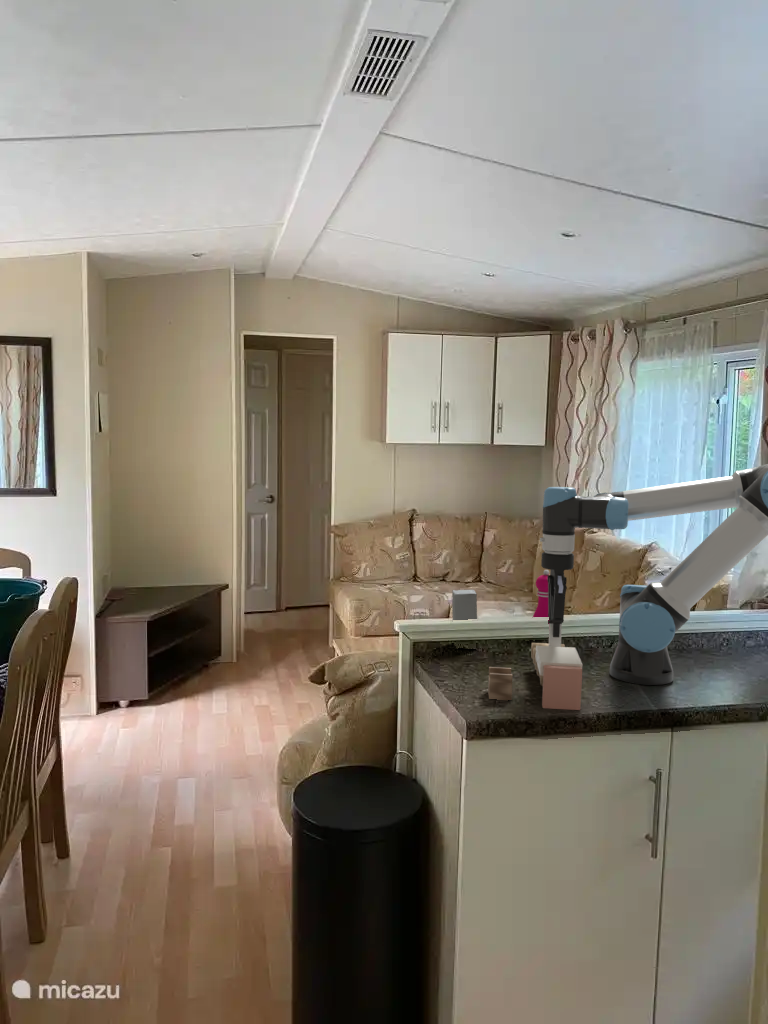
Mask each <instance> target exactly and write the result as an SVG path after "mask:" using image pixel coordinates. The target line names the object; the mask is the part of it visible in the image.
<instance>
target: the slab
mask: <svg viewBox="0 0 768 1024" xmlns="http://www.w3.org/2000/svg"><path fill="white" fill-rule="evenodd" d="M536 662H537V666H538V669H539V673H540V675H542V676H543V671H544V665H552V666H572V667H581V668H582V669H583V664H584V663H582V659H581V658H580V655H579V653H578V651H577V648H576V647H572V646H569V647H568V646H565V647H553V646H536Z"/></svg>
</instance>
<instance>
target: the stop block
mask: <svg viewBox="0 0 768 1024" xmlns="http://www.w3.org/2000/svg"><path fill="white" fill-rule="evenodd" d="M582 681H583V667H582V668H581V667H572V666H552V665H544V671H543V686H542V698H541V707H542V708H543V709H551V710H552V709H553V710H554V709H555V710H556V709H557V710H569V711H571V710H572V711H581V704H582V702H581V701H582V686H583V684H582Z"/></svg>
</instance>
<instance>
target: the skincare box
mask: <svg viewBox="0 0 768 1024" xmlns="http://www.w3.org/2000/svg"><path fill="white" fill-rule="evenodd" d="M451 593H452V595H451V596H452V599H451V600H452V601H451V602H452V604H451V605H452V606H451V607H452V609H451V610H452V613H451V614H452V621H453V620H468V619H477V620H478V604H477V603H478V602H477V601H478V600H477V599H478V597H477V596H478V595H477V593H476V590H474V589H453V590H452V592H451Z"/></svg>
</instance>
